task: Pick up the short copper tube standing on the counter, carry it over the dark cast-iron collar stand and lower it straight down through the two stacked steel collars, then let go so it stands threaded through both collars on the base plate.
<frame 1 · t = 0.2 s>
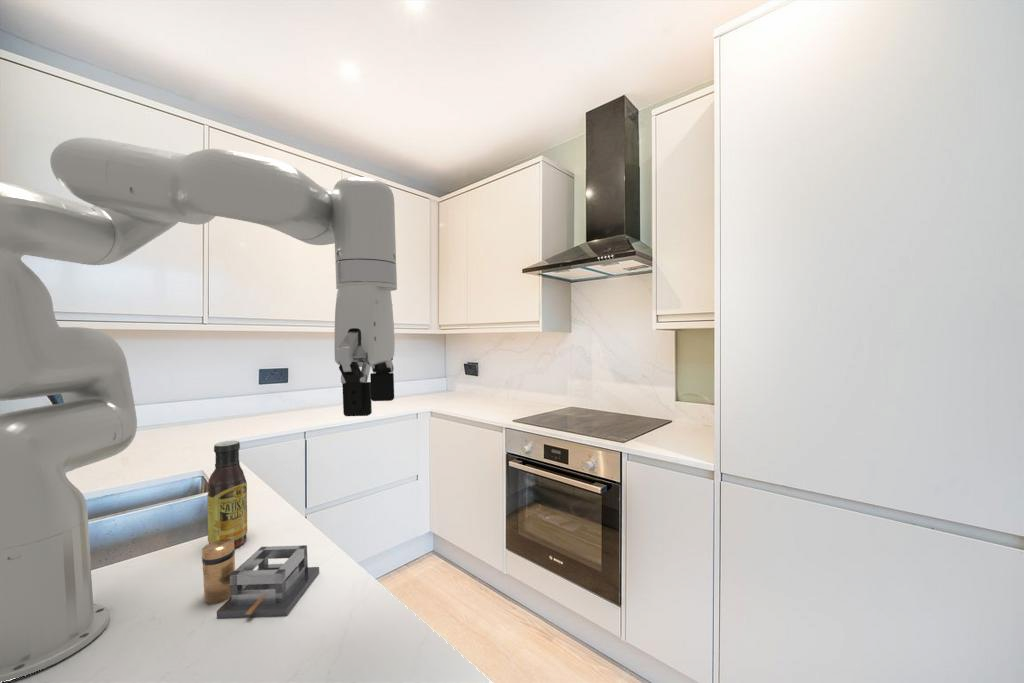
hand: (371, 407, 52), 31 cm above the counter, fingers open, 9 cm apart
sauce bottle: (229, 545, 76), on the counter
copper tube: (220, 595, 62), on the counter
collar stand: (272, 593, 62), on the counter
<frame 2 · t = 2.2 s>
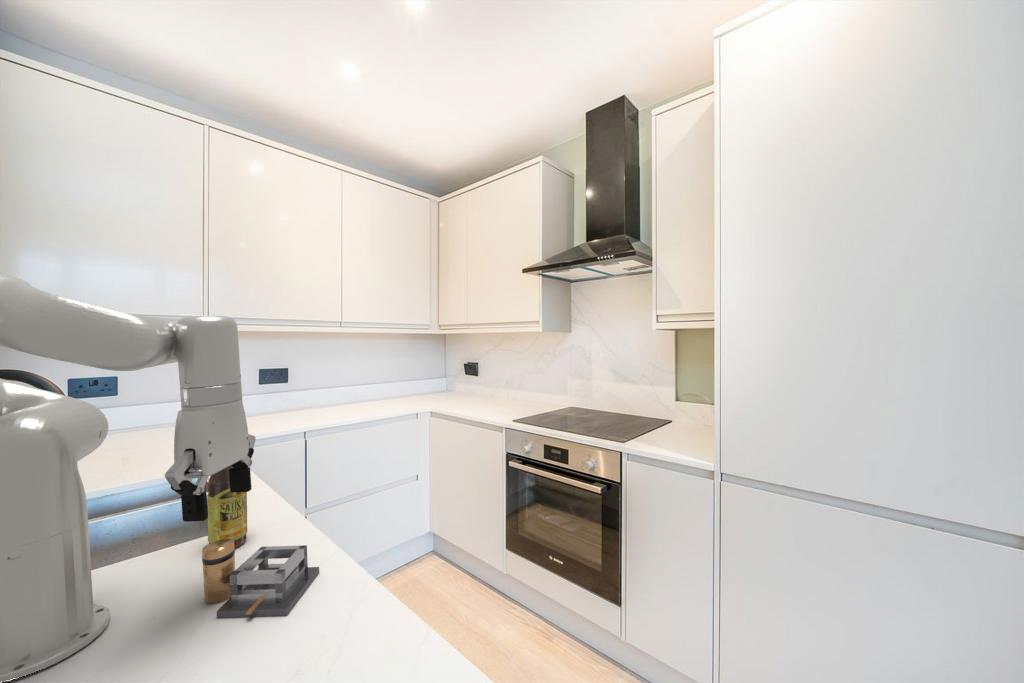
hand: (220, 504, 61), 14 cm above the counter, fingers open, 9 cm apart
nothing on the counter moved.
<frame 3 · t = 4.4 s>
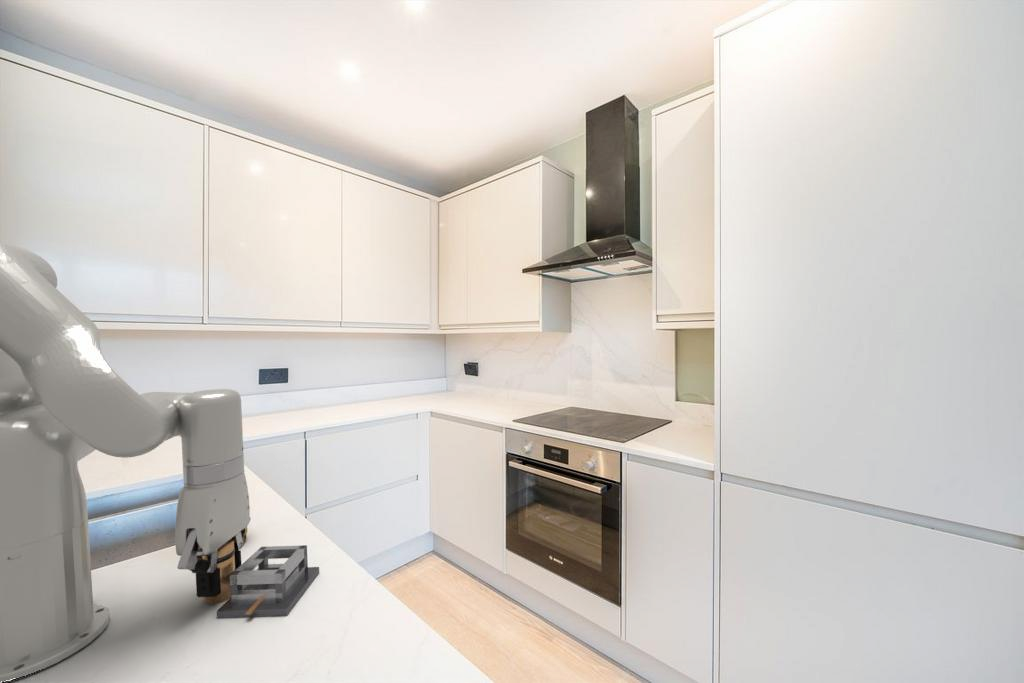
hand: (220, 584, 62), 2 cm above the counter, fingers closed on copper tube, 4 cm apart
copper tube: (220, 595, 62), on the counter, touching gripper
everything else where it was.
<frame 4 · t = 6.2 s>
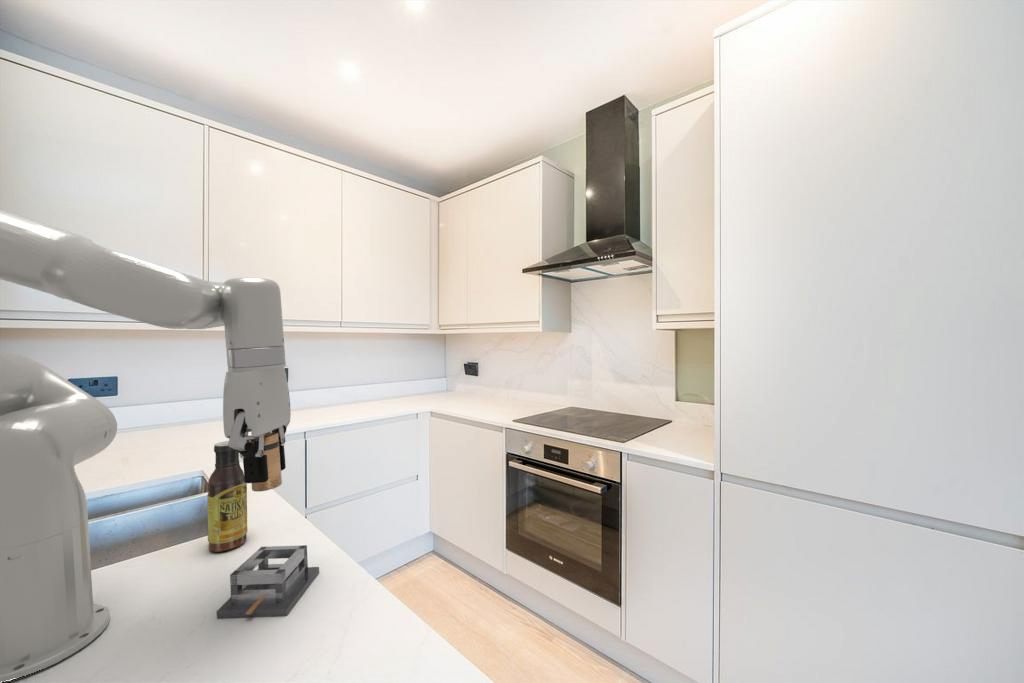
hand: (266, 474, 61), 19 cm above the counter, fingers closed on copper tube, 4 cm apart
copper tube: (267, 486, 61), point 17 cm above the counter, touching gripper
everything else where it was.
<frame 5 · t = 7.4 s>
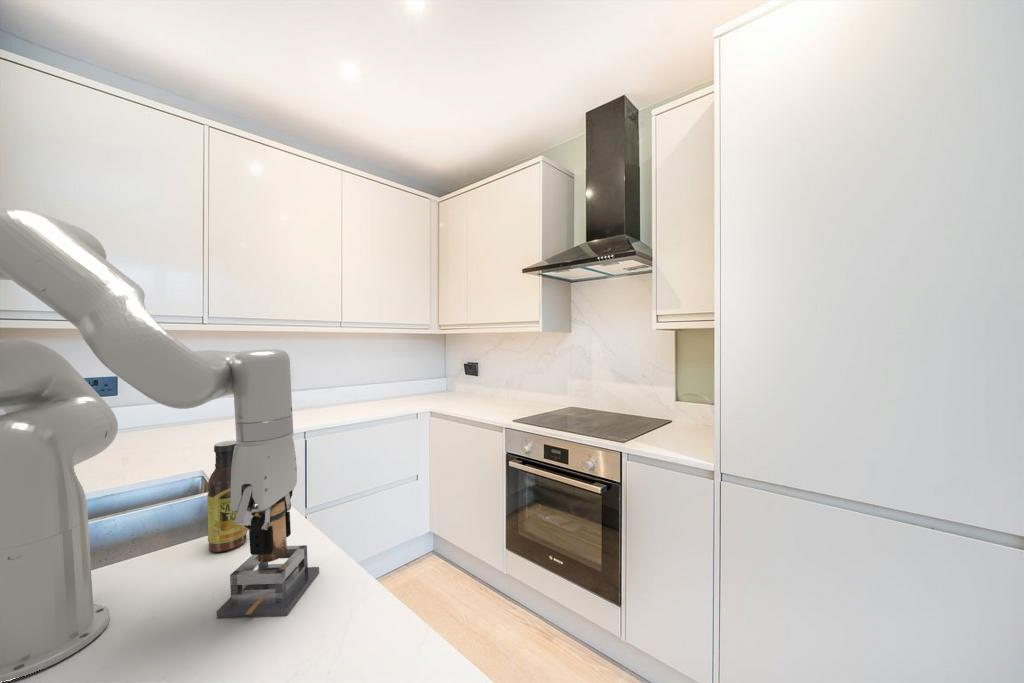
hand: (271, 543, 62), 8 cm above the counter, fingers closed on copper tube, 4 cm apart
copper tube: (272, 554, 62), point 6 cm above the counter, touching gripper
everything else where it was.
when the fingers open (6 cm above the counter, at t = 8.3 s): copper tube drops 4 cm, resting on collar stand.
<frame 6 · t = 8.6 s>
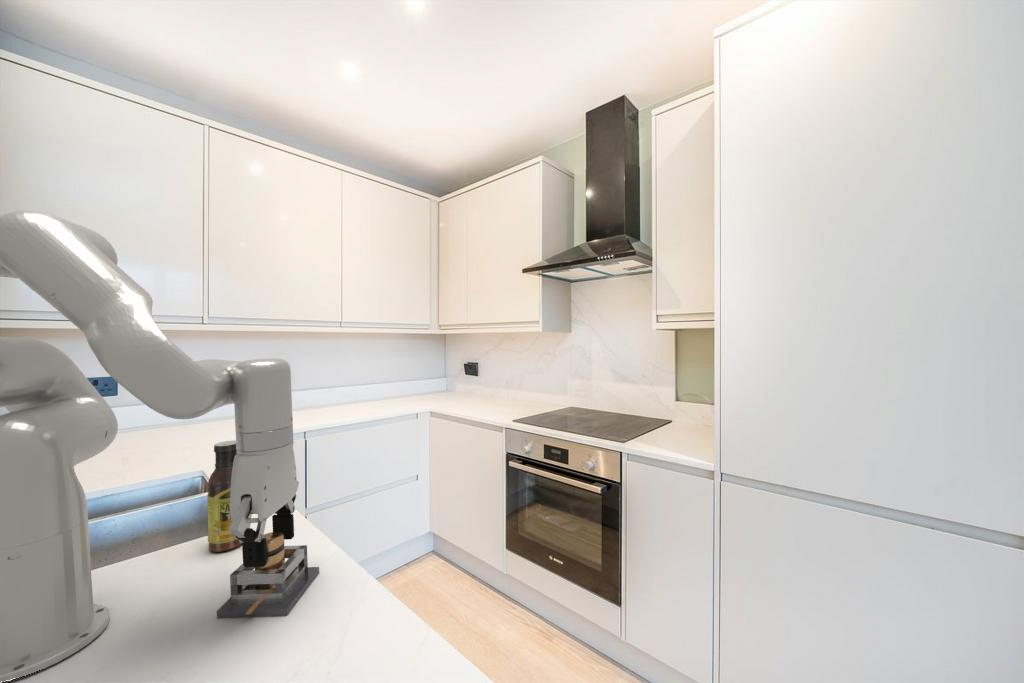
hand: (270, 550, 61), 7 cm above the counter, fingers open, 6 cm apart
copper tube: (271, 588, 61), point 1 cm above the counter, touching collar stand
everything else where it was.
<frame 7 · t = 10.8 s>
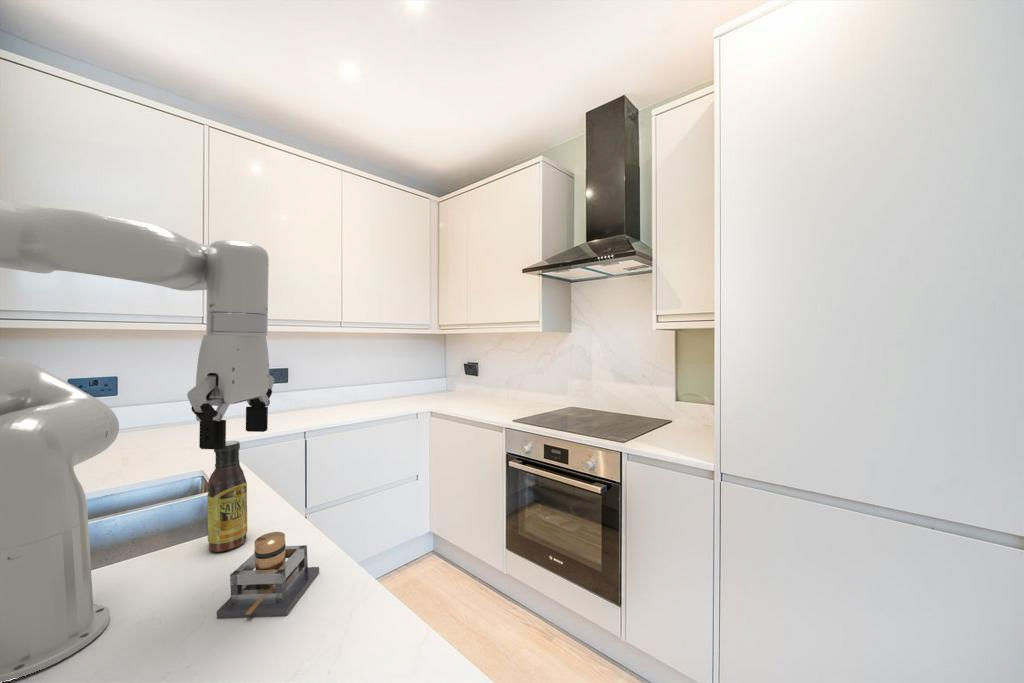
hand: (236, 439, 59), 25 cm above the counter, fingers open, 9 cm apart
nothing on the counter moved.
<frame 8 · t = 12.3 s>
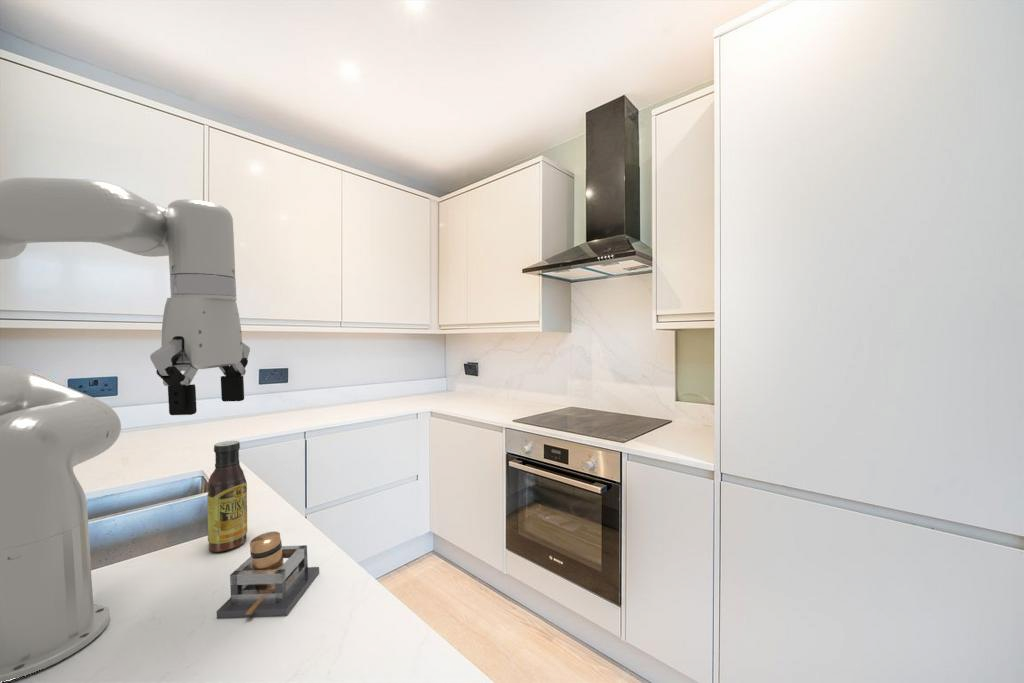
hand: (210, 407, 58), 30 cm above the counter, fingers open, 9 cm apart
nothing on the counter moved.
at the end: copper tube 0.3 cm off-centre on the collar stand, point 1.1 cm above the collar stand's base; copper tube tilted 3°; the gripper is holding nothing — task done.
